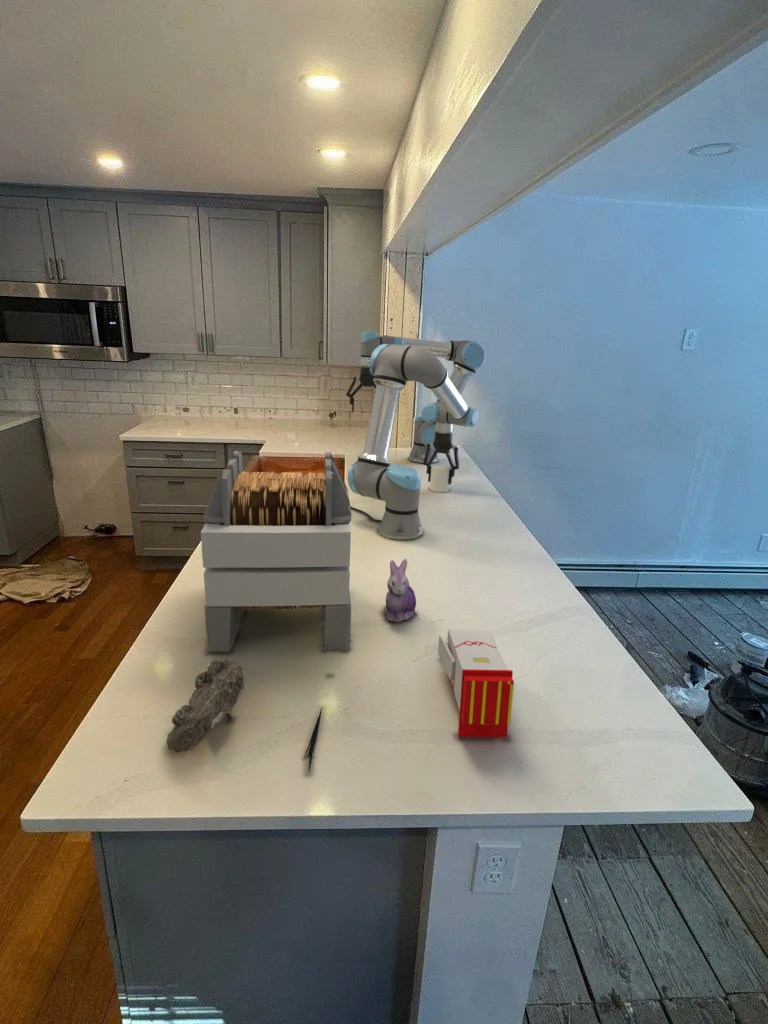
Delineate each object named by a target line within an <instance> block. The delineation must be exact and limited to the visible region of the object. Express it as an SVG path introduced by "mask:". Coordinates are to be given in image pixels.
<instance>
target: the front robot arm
mask: <svg viewBox="0 0 768 1024" xmlns="http://www.w3.org/2000/svg"><path fill="white" fill-rule="evenodd" d="M369 367H370V372H371V374H372V375H373V376H374V379H373V381H374V382H375V384H376V389H375V391H374V398H373V401H372V406H371V412H370V418H369V422H368V428H367V432H366V437H365V443H364V448H363V452H362V453H361V454H359V455H358V457H357V460H356V461H354V462H352V463H351V466H350V467H349V468H348V471H347V483H348V486H349V489H350V491H352V492H353V493H354V494H355V495H359V496H361V497H367V498H371V499H373V500H374V499H375V500H379V501H383V502H385V504H384V505H385V507H384V508H385V509H384V513H383V515H382V519H376V518H374V517H372V516H371V515H370V514H369V513H368V512H365V511H363V510H362V509H359V508H356V507H354V506H351V505H350V507H351V511H355V512H358V513H360V514H362V515H365V517H367V518H368V519H369V520H370V521H372V522H374V523H379V526H378V533H379V534H380V535H381V536H382V537H385V538H387V539H389V540H395V541H410V540H415V539H418V538H420V537H421V536H422V535H423V525H422V524H421V518H420V515H419V507H420V506H419V505H420V496H421V495H420V494H421V493H420V492H421V486H422V485H421V474H420V472H419V471H418V470H417V469H415V468H413V467H411V466H408V465H403V464H391V462H390V460H389V459H388V456H389V455H388V453H389V449H390V444H391V439H392V435H393V430H394V425H395V420H396V415H397V409H398V404H399V399H400V396H401V395H400V394H401V391H402V390H403V389H405V388H406V386H407V382H408V381H409V382H416V383H420V384H422V385H423V386H424V388H427V389H429V390H430V391H431V392H432V394H433V395H434V396H435V397H436V401H435V402H429V403H427V404H425V405H424V406H423V407H422V409H421V411H420V413H421V416H422V418H423V419H424V420H425V421H426V422H428V423H431V422H432V423H433V422H436V425H435V430H436V432H435V439H434V443H430V442H429V443H428V444H427V451H426V454H425V458H424V462H423V463H422V465H423V466H426V474H427V475H428V477H427V482H428V483H430V478H431V465H432V464H433V463H432V462H433V460H434V459H435V457H436V455H438V454H445V456H446V459H447V461H448V465H449V466H450V467H451V469H450V472H449V486H451V485H452V482H453V478H454V477H455V475H456V473H455V472H456V470H458V469H460V459H459V448H460V447H459V445H454V444H453V431H454V426H460V427H469V428H473V427H475V426H476V425H477V423H478V419H479V411H478V409H477V408H475V407H471V406H470V407H469V406H468V405H467V403H466V402H465V400H464V398H463V397H462V395H461V396H460V394H459V393H458V391H457V390H456V388H455V387H454V385H453V384H452V382H451V381H450V379H449V378H450V377H449V372H448V369H447V368H446V366H445V364H444V363H443V362H442V361H441V360H440V359H439V357H436V356H435V355H433V354H432V353H431V352H429V351H428V350H426V349H424V348H421V347H418V346H406V345H397V344H382V345H380V346H378V347H377V348H376V349H375V350H374V352H373V353H372V355H371V358H370V364H369ZM432 446H434V448H435V449H436V450H435V452H434V454H433V455H432V457H431V459H430V461H429V462H427V461H428V458H429V454H430V450H431V448H432ZM451 450H452V451H453V457H454V460H453V457H452V455H451Z"/></svg>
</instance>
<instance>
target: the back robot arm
mask: <svg viewBox="0 0 768 1024" xmlns="http://www.w3.org/2000/svg"><path fill="white" fill-rule="evenodd" d="M360 340H361V341H360V368H359V370H360V372H359V376H356V375H354V376H353V379H352V382H351V383H350V385H349V388H348V390H347V392H346V394H345V395H346V397H348V398H349V405H351V412H352V413H354V412H355V397H354V396H355V395H356V394H357V393H358V392H359V390H361V388H362V387H365V388H367V387H369V388H372V387H373V388H374V389H375V390H376V384H375V382H374V381H373V379H374V376H373V375H372V374H371V372H370V367H369V364H370V358H371V355H372V353H373V352H374V350H375V349H376V348H377V347H378V346H380V345H382V344H397V345H406V346H418V347H421V348H424V349H426V350H428V351H429V352H431V353H432V354H433V355H435V356H436V357H437V358H438V359H439V358H440V359H445V361H447V362H448V361H449V362H452V366H453V369H452V372H451V375H450V376H449V377H448V378H449V379H450V381H451V382H452V384H453V385H454V387H455V388H456V390H457V391H458V393H459V394H460V396H461V397H462V394H463V392H464V390H465V389H466V386H467V384H468V382H469V381H470V378H471V377H472V376H475V375H476V372H477V371H478V369H479V368H480V367H481V366H483V364H484V363H485V361H486V357H487V353H486V349H485V348H484V346H483V345H482V344H480V343H479V342H477V341H471V340H448V341H437V340H429V339H420V338H411V337H401V336H391V335H386V334H383V335H381V336H379V334H378V332H376V331H363V332H362V333H361V339H360ZM358 381H359V382H360V383H359V384H358V386H356V388H355V389H354V390H353V388H354V386H355V385H356V383H357V382H358ZM352 390H353V391H352ZM413 423H414V425H413V426H414V427H413V442H412V443H413V444H412V447H411V449H410V452H409V456H408V460H409V461H410V462H413V463H417V464H423V462H424V458H425V454H426V451H427V444H428V443H429V442H430V443H434V439H435V432H436V430H435V425H436V422H433V423H432V422H431V423H428V422H426V421H425V420H424V419H423V418H422V415H421V416H416V417H414V422H413ZM435 450H436V449H435V448H434V446H432V448H431V450H430V454H429V458H428V461H427V462H429V461H430V459H431V457H432V455H433V454H434V452H435ZM438 461H439V455H438V454H437V455H436V457H435V459H434V460H433V462H432V464H436V463H438Z"/></svg>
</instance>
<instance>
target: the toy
mask: <svg viewBox="0 0 768 1024" xmlns="http://www.w3.org/2000/svg"><path fill="white" fill-rule="evenodd" d="M446 640H447V643H446V641H445V639H444V636H443V635H442V634H439V637H438V646H437V656H438V657H439V659H440V661H441V663H442V666H443V668H444V670H445V672H446V674H447V677H448V679H449V681H450V684H451V687H452V690H453V693H454V697H455V701H456V705H457V708H458V711H459V714H458V715H459V716H458V730H457V731H458V732H457V737H458V738H508V731H509V726H510V725H511V717H512V707H513V697H514V696H513V695H514V684H515V680H514V679H513V673H514V671H513V670H512V669H508V667H507V665H506V662H505V661H504V659H503V658H502V655H501V653H500V651H499V649H498V647H497V643H496V639H495V637H494V635H493V634H491V632H490V631H489V629H467V628H466V629H465V628H463V629H461V628H460V629H459V628H448V630H447V639H446Z"/></svg>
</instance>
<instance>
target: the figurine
mask: <svg viewBox="0 0 768 1024" xmlns="http://www.w3.org/2000/svg"><path fill="white" fill-rule="evenodd" d="M407 567H408V559H406V558H404V559H403V560H402V561H401V563H400V565H399V566H398V565H397V563H396V562H395V561H394V560H393V559H391V560H390V561H389V570H390V576H389V578H388V579H387V589H388V591H387V592H386V594H385V595H386V596H385V607H384V615H385V616H386V620H387V621H391V622H395V623H400V622H402V621H406V620H409V619H410V618H411V617H413V616H414V615H415V610H416V606H417V597H416V593H415V591H414V590H413V587H411V586H410V582H409V579H408V577H407V574H406V571H407Z"/></svg>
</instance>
